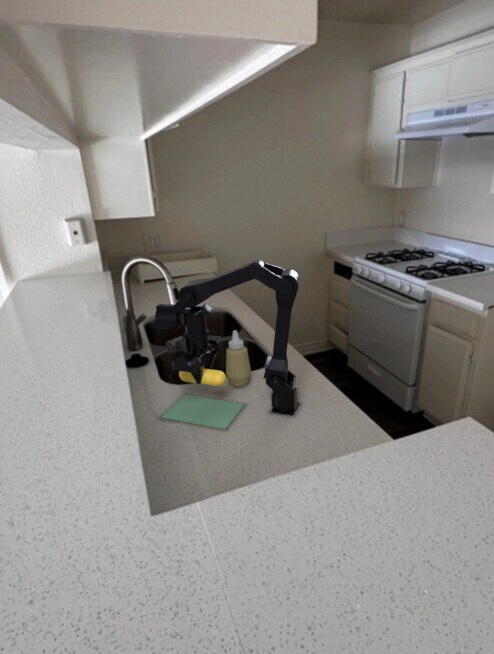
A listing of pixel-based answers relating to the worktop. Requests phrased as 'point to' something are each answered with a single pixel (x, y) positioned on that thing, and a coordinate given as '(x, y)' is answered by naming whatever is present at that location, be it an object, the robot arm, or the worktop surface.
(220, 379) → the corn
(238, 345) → the squeeze bottle
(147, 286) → the worktop surface
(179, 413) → the towel
